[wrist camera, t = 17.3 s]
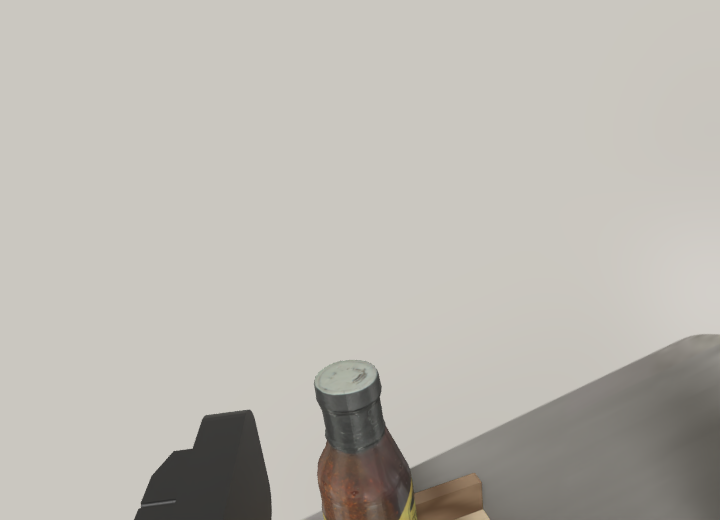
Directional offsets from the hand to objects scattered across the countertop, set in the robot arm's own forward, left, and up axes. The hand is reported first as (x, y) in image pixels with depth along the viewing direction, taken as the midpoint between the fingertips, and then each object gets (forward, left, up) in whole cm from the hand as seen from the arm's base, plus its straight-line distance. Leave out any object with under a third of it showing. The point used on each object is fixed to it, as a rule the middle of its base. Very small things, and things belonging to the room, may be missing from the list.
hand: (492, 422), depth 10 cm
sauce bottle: (-3, -22, -33) cm, 40 cm away
